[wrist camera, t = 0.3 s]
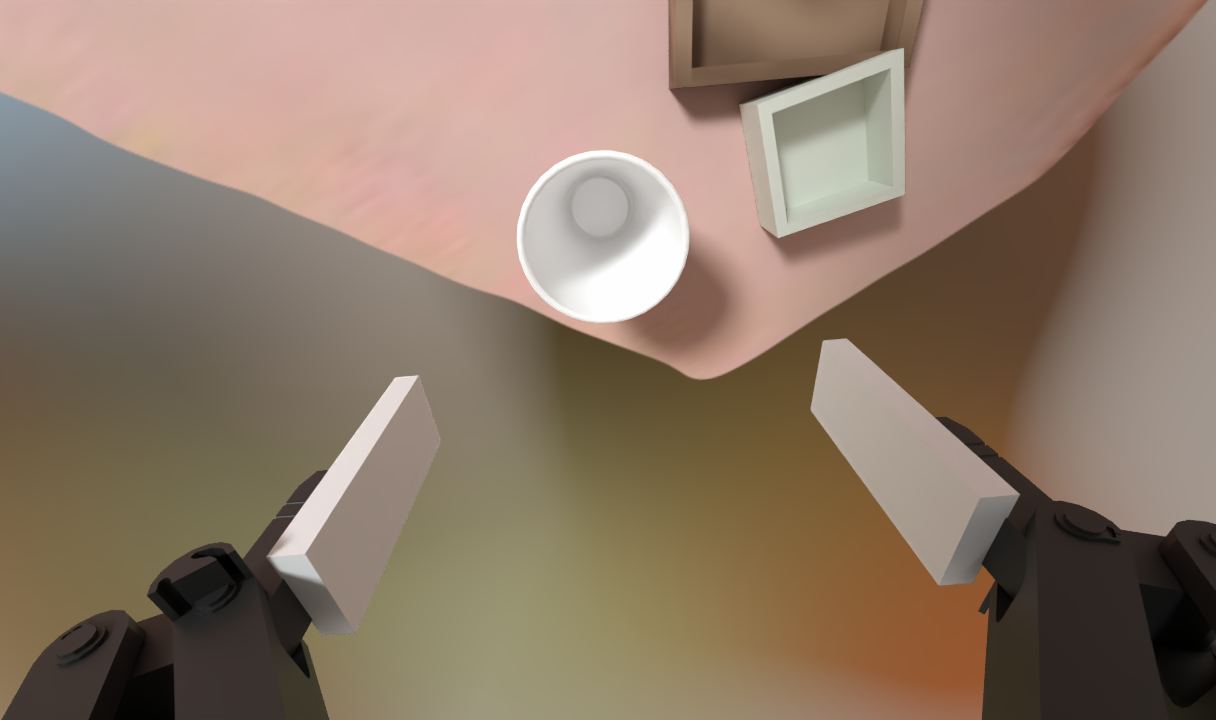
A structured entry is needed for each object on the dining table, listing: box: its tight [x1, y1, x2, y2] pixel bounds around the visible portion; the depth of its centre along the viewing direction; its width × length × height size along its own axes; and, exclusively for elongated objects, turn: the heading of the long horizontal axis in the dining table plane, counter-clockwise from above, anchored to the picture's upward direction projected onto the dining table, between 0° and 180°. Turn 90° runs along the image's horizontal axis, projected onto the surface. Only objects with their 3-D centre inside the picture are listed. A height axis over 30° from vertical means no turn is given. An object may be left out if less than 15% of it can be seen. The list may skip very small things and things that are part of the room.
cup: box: [517, 150, 690, 324], centre depth 30 cm, size 10×10×11 cm
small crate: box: [739, 48, 905, 238], centre depth 32 cm, size 9×9×4 cm
